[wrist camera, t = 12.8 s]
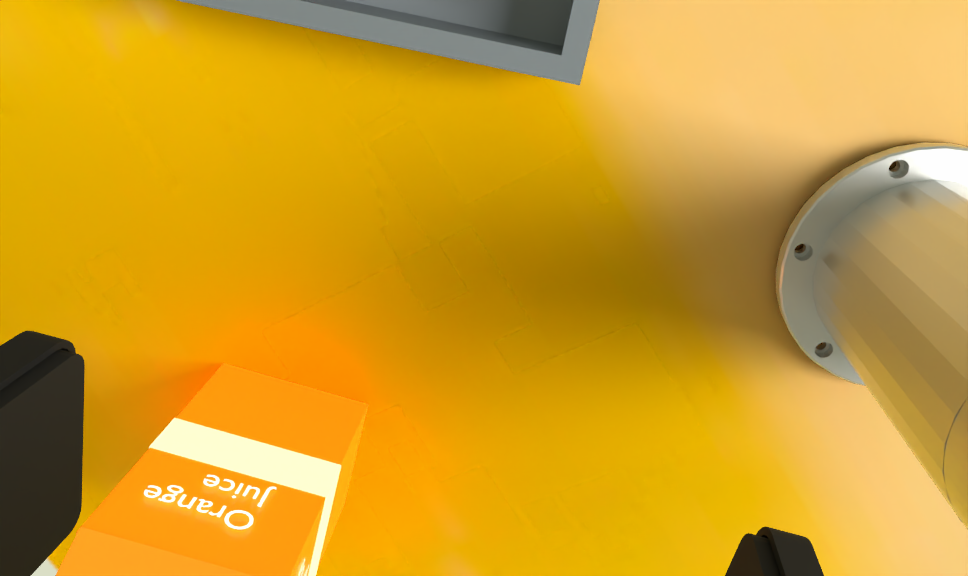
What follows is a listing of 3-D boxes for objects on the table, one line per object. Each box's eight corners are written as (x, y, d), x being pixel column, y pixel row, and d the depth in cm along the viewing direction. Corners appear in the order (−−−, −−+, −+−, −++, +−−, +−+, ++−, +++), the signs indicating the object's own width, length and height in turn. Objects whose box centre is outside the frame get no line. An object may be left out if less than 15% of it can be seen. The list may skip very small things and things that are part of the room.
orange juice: (345, 506, 48) (205, 843, 30) (206, 467, 48) (-20, 780, 29) (370, 401, 45) (231, 705, 26) (222, 359, 45) (-20, 634, 26)
